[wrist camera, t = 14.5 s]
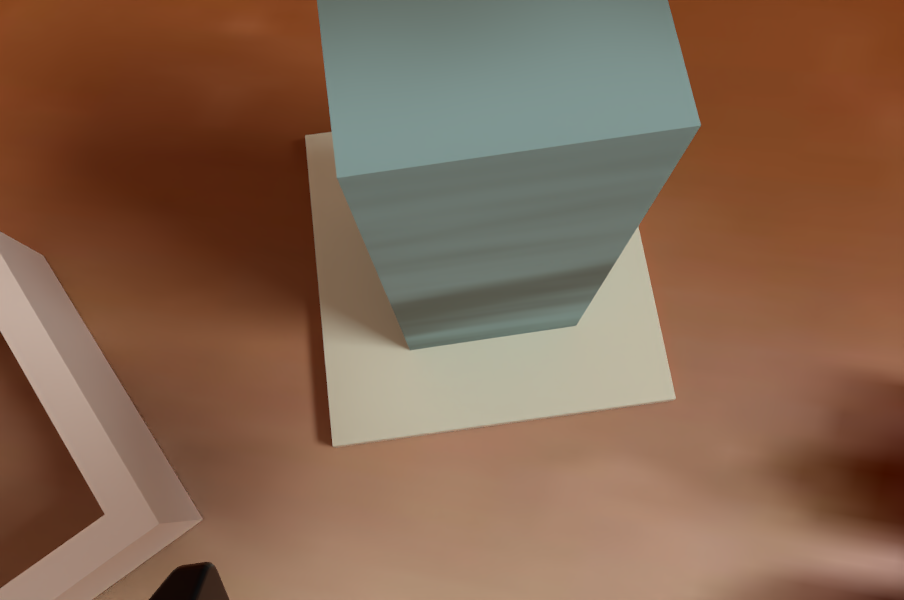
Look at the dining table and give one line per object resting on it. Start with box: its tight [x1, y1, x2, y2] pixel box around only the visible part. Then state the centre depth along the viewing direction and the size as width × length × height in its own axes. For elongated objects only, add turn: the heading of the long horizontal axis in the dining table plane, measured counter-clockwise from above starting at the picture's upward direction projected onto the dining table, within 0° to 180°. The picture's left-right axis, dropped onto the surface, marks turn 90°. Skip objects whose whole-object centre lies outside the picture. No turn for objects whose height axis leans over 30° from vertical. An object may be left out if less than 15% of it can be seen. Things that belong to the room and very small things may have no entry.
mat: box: [305, 132, 676, 447], centre depth 22 cm, size 10×10×1 cm
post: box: [317, 0, 701, 350], centre depth 16 cm, size 5×5×12 cm
